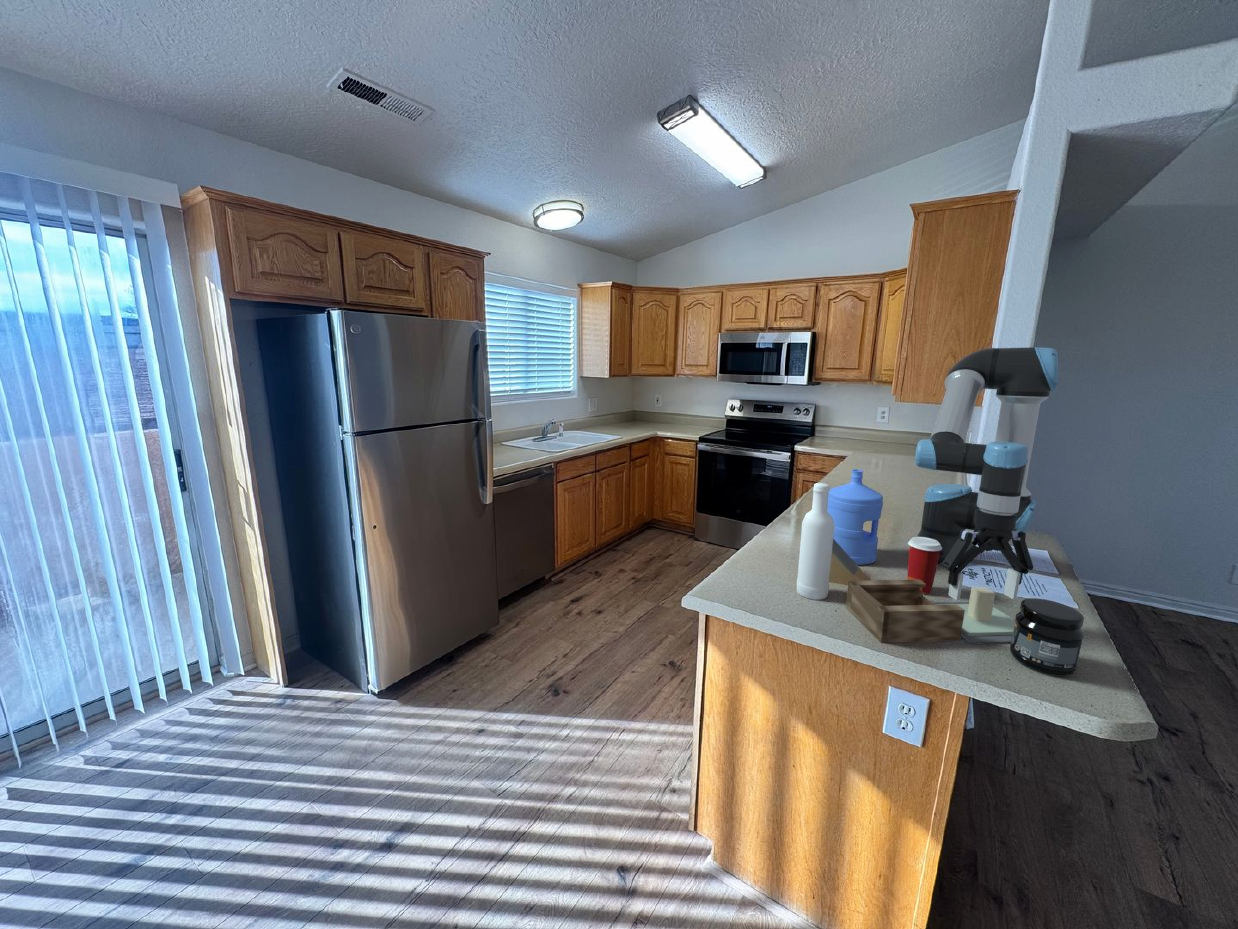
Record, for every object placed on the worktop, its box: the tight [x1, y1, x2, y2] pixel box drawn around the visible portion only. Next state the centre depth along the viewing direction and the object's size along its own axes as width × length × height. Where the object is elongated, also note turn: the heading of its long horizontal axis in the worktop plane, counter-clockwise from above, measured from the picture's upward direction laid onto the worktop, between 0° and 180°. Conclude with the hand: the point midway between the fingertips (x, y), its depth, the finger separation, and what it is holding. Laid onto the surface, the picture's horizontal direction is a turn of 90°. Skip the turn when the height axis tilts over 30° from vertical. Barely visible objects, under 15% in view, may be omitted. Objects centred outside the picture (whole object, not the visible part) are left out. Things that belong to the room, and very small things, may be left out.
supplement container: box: [1009, 597, 1085, 677], centre depth 99 cm, size 10×10×12 cm
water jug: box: [827, 469, 884, 566], centre depth 152 cm, size 16×16×28 cm
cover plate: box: [938, 586, 1015, 636], centre depth 115 cm, size 15×13×8 cm
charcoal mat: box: [932, 601, 1013, 645], centre depth 115 cm, size 18×18×1 cm
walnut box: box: [845, 579, 965, 643], centre depth 114 cm, size 18×15×7 cm
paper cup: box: [906, 536, 942, 595], centre depth 131 cm, size 8×8×14 cm
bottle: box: [796, 482, 835, 601], centre depth 127 cm, size 8×8×30 cm
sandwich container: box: [829, 539, 871, 587], centre depth 138 cm, size 9×15×15 cm, turn 62°
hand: (981, 597), depth 114 cm, fingers open, 13 cm apart
